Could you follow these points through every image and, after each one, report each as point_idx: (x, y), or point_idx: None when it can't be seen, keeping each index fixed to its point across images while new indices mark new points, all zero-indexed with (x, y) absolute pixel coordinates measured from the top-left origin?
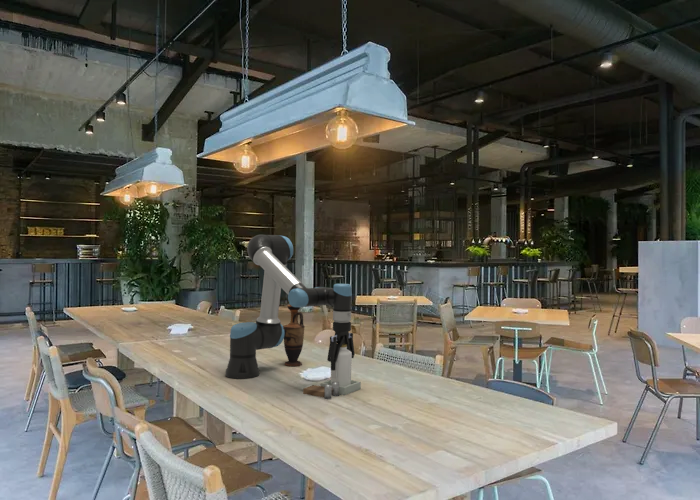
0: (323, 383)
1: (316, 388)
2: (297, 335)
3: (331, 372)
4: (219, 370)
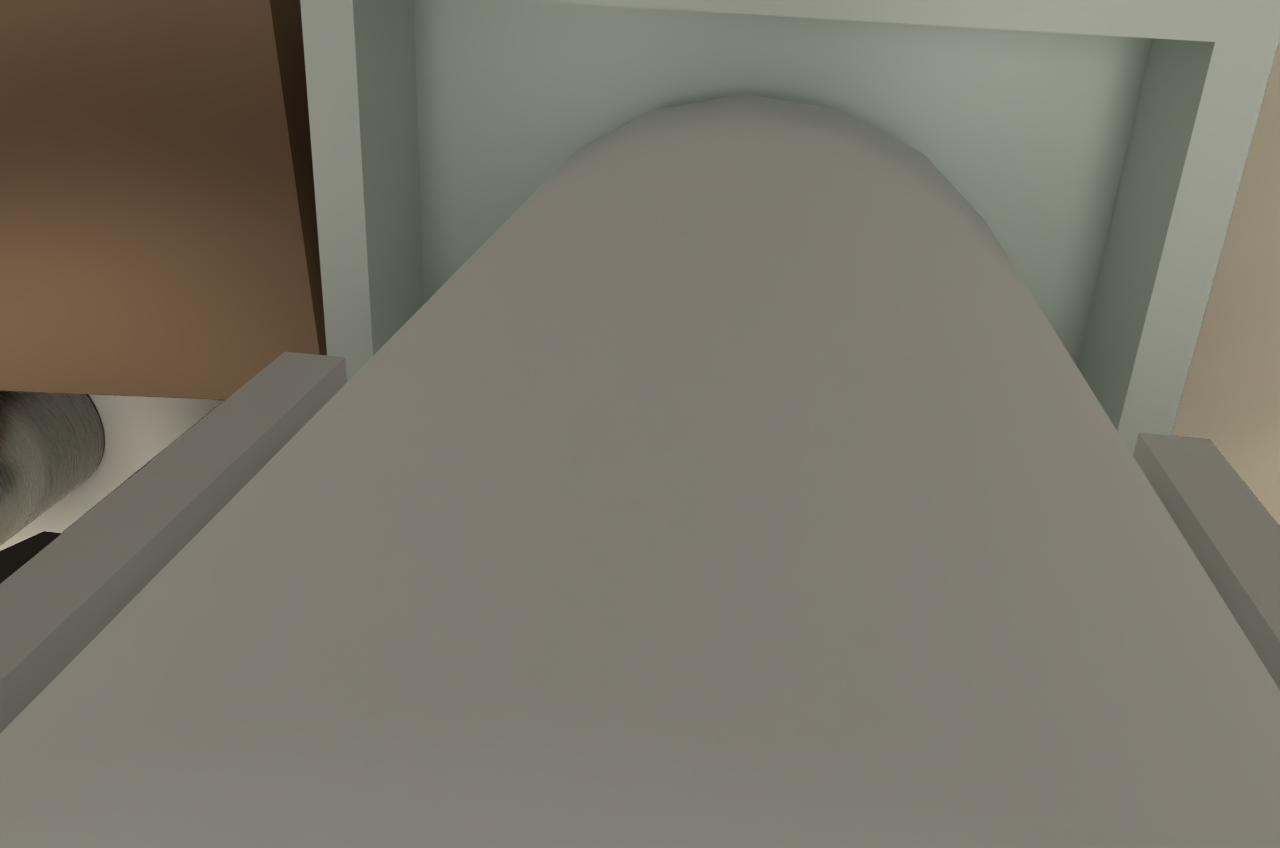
0: (315, 37)
1: (14, 23)
2: None
3: (194, 449)
4: None
